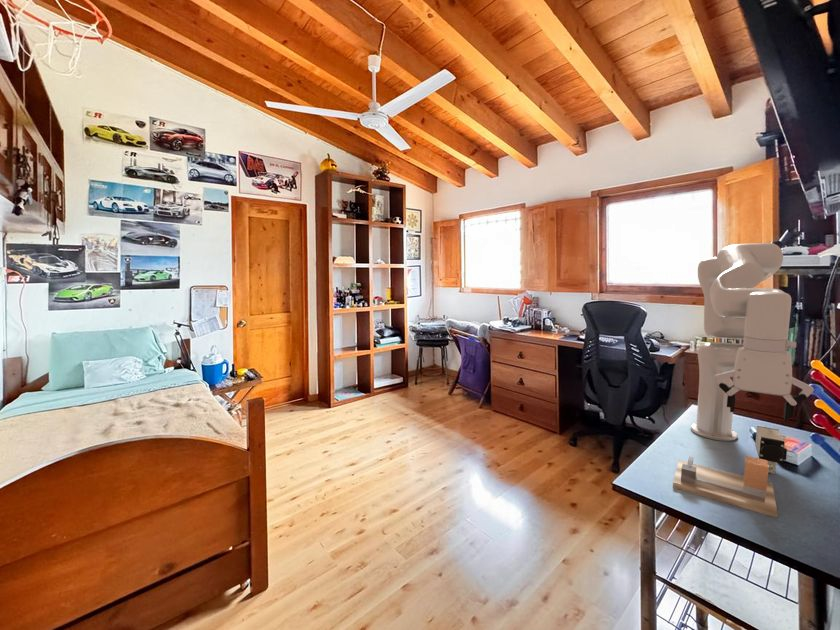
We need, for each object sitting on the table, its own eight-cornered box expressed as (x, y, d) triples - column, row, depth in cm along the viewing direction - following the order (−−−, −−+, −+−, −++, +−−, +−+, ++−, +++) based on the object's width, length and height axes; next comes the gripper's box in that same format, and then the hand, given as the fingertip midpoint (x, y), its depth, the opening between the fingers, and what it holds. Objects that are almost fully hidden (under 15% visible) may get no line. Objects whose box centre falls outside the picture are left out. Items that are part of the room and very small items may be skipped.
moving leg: (742, 480, 98) (744, 447, 97) (762, 485, 96) (765, 452, 94) (742, 497, 91) (745, 462, 90) (765, 503, 89) (768, 467, 88)
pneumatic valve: (758, 477, 103) (761, 435, 101) (753, 458, 112) (756, 420, 110) (786, 483, 99) (790, 440, 98) (778, 464, 109) (782, 424, 107)
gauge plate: (678, 464, 110) (679, 448, 109) (771, 489, 97) (773, 470, 97) (672, 487, 99) (673, 469, 99) (776, 517, 87) (778, 497, 86)
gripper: (815, 345, 85) (807, 418, 87) (717, 338, 96) (712, 402, 98) (821, 352, 79) (812, 429, 81) (716, 343, 90) (711, 412, 92)
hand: (758, 414), depth 90 cm, fingers open, 9 cm apart
